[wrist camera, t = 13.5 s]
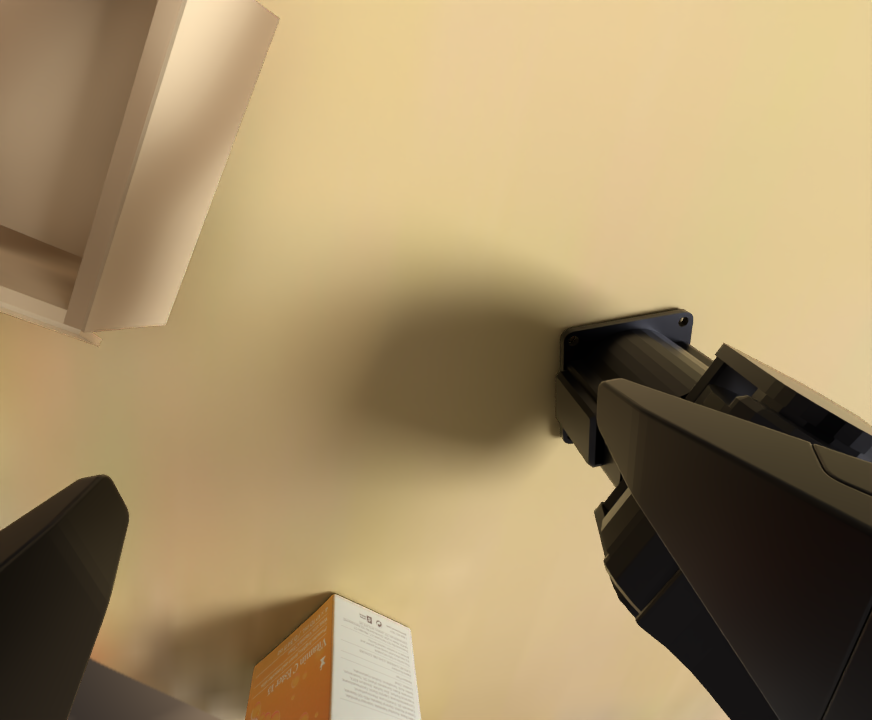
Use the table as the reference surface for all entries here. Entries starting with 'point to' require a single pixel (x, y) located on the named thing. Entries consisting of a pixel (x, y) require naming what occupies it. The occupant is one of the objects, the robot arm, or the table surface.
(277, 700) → the small box
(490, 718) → the table surface
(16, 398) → the table surface
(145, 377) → the table surface
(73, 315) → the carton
